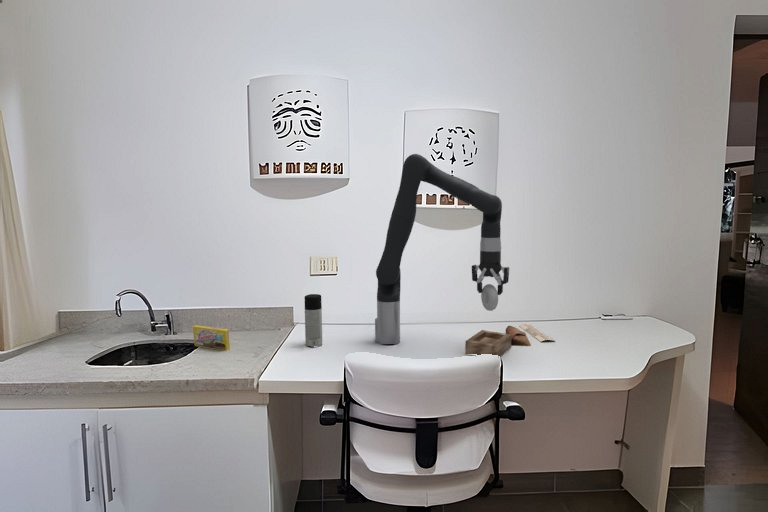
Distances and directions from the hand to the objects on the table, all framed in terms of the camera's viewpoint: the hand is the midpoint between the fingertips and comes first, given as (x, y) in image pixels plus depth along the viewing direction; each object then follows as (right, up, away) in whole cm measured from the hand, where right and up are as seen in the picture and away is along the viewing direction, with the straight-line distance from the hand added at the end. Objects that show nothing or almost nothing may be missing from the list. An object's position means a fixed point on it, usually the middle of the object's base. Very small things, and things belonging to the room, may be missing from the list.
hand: (489, 293), depth 168 cm
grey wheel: (0, -7, +1) cm, 7 cm away
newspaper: (+25, -20, +24) cm, 40 cm away
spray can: (-67, -21, +10) cm, 71 cm away
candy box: (-107, -22, +7) cm, 109 cm away
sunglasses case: (+16, -21, +17) cm, 31 cm away
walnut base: (0, -22, +3) cm, 22 cm away
